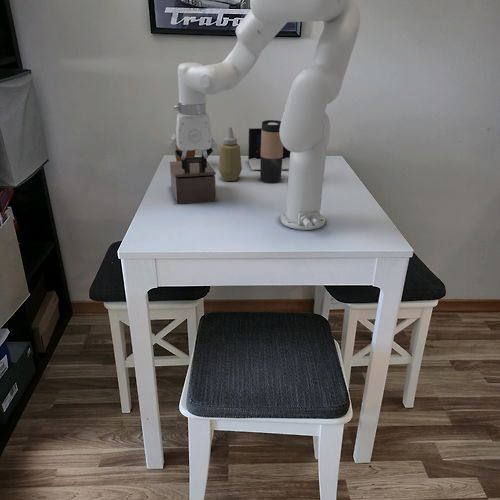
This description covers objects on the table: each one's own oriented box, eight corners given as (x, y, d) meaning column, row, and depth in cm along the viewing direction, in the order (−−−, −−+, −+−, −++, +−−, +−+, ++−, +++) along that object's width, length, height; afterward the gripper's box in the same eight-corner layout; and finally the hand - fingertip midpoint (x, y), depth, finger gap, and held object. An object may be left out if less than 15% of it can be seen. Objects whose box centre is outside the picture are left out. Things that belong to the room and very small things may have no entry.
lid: (215, 174, 143) (215, 157, 141) (175, 177, 140) (174, 160, 138) (206, 162, 157) (205, 146, 155) (170, 164, 154) (169, 148, 152)
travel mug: (281, 176, 170) (284, 120, 161) (281, 183, 163) (284, 125, 154) (260, 175, 171) (262, 119, 161) (258, 182, 164) (260, 124, 155)
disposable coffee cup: (168, 164, 180) (166, 133, 175) (189, 160, 186) (188, 129, 180) (181, 171, 174) (180, 138, 168) (203, 166, 179) (202, 134, 174)
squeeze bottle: (244, 181, 165) (245, 129, 157) (222, 183, 162) (222, 131, 154) (236, 174, 171) (237, 124, 163) (215, 176, 169) (214, 125, 160)
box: (215, 201, 148) (215, 176, 144) (177, 204, 145) (175, 179, 141) (206, 185, 161) (206, 162, 157) (171, 187, 158) (170, 164, 154)
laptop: (251, 171, 175) (252, 136, 169) (247, 161, 186) (248, 128, 180) (299, 170, 177) (301, 135, 171) (292, 160, 188) (294, 127, 182)
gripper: (163, 112, 130) (167, 176, 138) (224, 111, 134) (224, 172, 142) (161, 107, 136) (165, 168, 145) (218, 106, 140) (219, 165, 149)
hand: (194, 170), depth 143 cm, fingers closed on lid, 4 cm apart
